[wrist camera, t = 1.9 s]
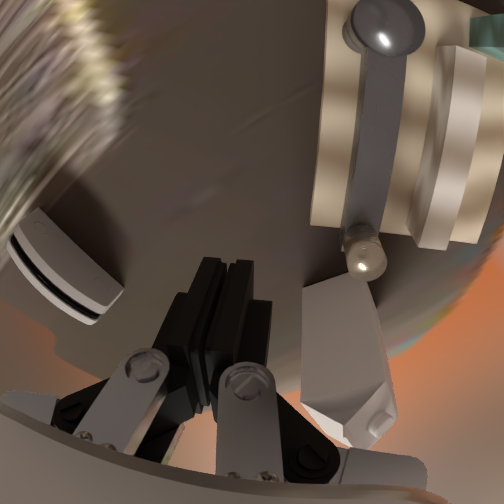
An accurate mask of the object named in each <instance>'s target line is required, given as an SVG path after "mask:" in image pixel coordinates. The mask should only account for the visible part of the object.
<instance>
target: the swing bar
mask: <svg viewBox="0 0 504 504" xmlns="http://www.w3.org/2000/svg"><path fill="white" fill-rule="evenodd" d="M347 28H348V32H349V35H350V37H351V39H352V40H353V42H354V43H355V44H356V45H357V46H358V47H359V48H360V49H361V61H360V75H359V87H358V98H357V109H356V118H355V127H354V136H353V144H352V152H351V159H350V167H349V174H348V181H347V187H346V194H345V200H344V206H343V212H342V218H341V224H340V230H339V235H338V239H339V244H340V249H341V251H343V252H344V253H345V257H346V262H347V267H348V271H349V273H350V275H351V276H352V277H353V278H354V279H356V280H358V281H363V282H366V281H372V280H375V279H377V278H378V277H380V276H381V275H382V274H383V273H384V271H385V269H386V267H387V258H386V255H385V253H384V250H383V248H382V245H381V243H380V241H379V238H378V235H379V231H380V227H381V222H382V218H383V214H384V209H385V205H386V200H387V195H388V190H389V185H390V180H391V175H392V170H393V164H394V158H395V153H396V146H397V140H398V134H399V127H400V120H401V112H402V104H403V95H404V86H405V76H406V64H407V55H409V54H412V53H413V52H415V51H416V50H417V49H418V48H419V47H420V46H421V45H422V43H423V41H424V38H425V32H426V29H425V22H424V19H423V16H422V14H421V12H420V11H419V9H418V8H417V6H416V5H415V4H414V3H413V2H412V1H411V0H360V1H359V2H358V3H356V4H355V5H354V7H353V8H352V9H351V10H350V12H349V14H348V18H347Z"/></svg>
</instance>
